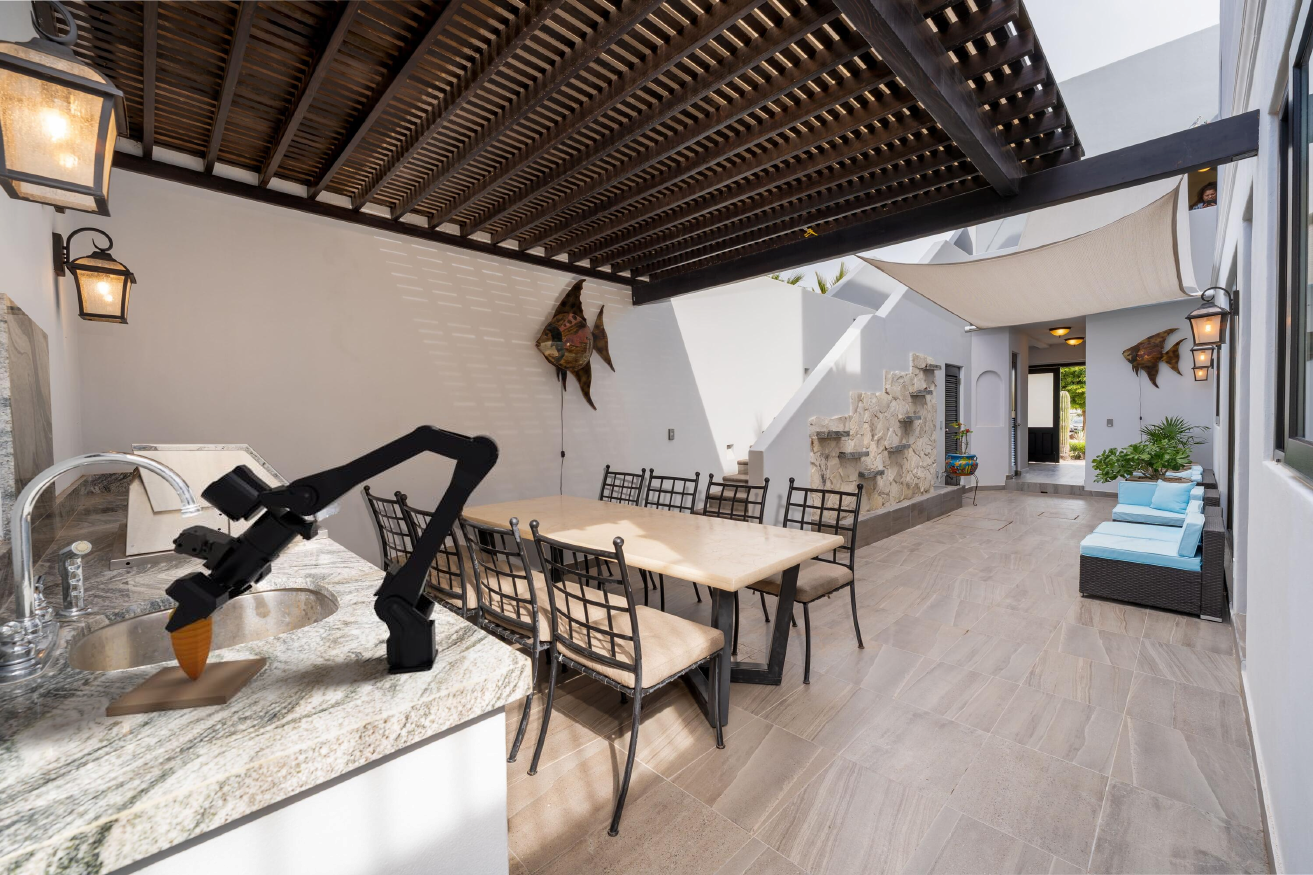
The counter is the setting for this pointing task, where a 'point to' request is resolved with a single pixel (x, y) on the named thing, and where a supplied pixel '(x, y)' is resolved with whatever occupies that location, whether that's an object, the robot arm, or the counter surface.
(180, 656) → the carrot
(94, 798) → the counter surface
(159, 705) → the walnut board
